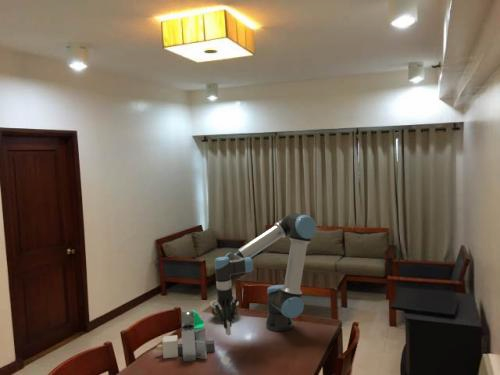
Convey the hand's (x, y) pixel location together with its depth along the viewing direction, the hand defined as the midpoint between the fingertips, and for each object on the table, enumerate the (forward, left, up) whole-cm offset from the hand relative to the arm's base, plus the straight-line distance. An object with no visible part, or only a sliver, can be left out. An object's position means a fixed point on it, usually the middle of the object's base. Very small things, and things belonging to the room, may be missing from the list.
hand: (228, 333), depth 212 cm
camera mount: (+18, -29, -8) cm, 34 cm away
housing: (+17, 0, -7) cm, 19 cm away
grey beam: (+21, 0, -7) cm, 23 cm away
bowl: (-1, -43, -8) cm, 44 cm away
